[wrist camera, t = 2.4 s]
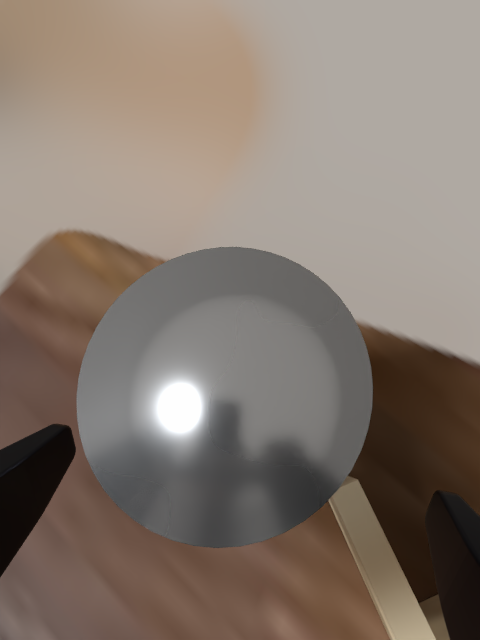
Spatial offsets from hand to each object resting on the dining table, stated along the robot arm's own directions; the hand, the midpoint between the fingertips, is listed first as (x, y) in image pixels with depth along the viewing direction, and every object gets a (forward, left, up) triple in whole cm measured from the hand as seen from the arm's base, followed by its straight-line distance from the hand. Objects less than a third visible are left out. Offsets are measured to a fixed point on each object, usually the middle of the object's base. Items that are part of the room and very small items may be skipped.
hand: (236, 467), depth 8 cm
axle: (+1, +1, -9) cm, 9 cm away
